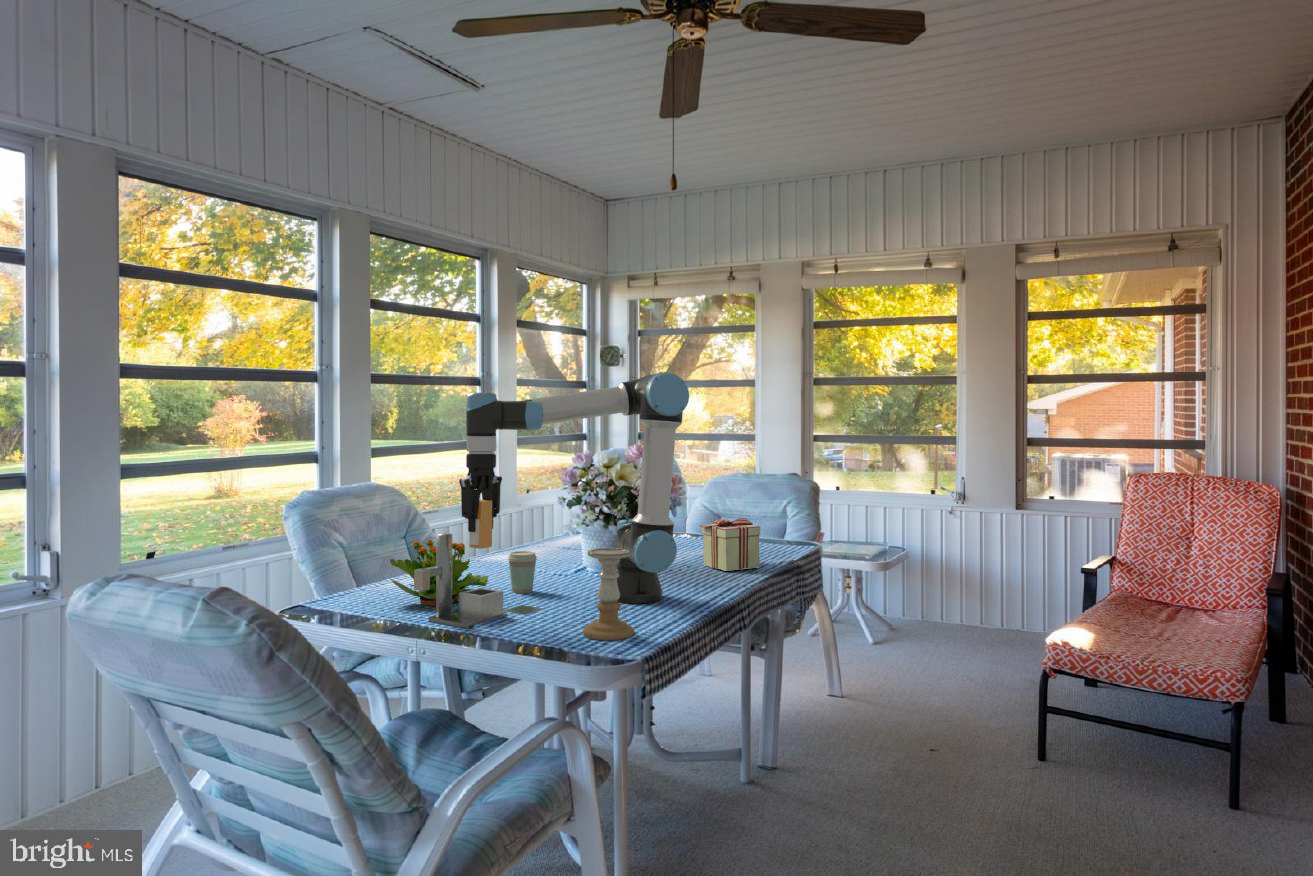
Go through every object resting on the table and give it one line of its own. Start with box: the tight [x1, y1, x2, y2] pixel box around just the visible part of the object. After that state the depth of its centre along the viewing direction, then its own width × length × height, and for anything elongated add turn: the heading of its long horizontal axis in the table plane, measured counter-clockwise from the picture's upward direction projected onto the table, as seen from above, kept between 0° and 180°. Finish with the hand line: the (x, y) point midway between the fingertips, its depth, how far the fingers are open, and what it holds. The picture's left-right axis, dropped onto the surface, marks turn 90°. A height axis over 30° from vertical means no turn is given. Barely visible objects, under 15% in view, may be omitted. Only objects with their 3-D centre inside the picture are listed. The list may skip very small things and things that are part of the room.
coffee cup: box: [507, 550, 538, 595], centre depth 246 cm, size 9×8×12 cm
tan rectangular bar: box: [468, 499, 493, 550], centre depth 214 cm, size 4×4×12 cm
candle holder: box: [582, 547, 635, 641], centre depth 201 cm, size 12×12×20 cm
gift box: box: [699, 517, 761, 572], centre depth 292 cm, size 17×18×17 cm
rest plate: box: [503, 604, 544, 616], centre depth 223 cm, size 8×8×1 cm
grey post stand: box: [413, 532, 508, 630], centre depth 212 cm, size 14×19×22 cm
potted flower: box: [389, 538, 489, 607], centre depth 233 cm, size 25×24×18 cm
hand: (480, 543), depth 214 cm, fingers closed on tan rectangular bar, 4 cm apart
